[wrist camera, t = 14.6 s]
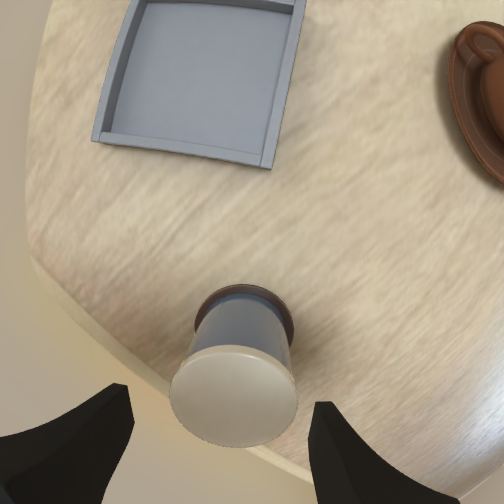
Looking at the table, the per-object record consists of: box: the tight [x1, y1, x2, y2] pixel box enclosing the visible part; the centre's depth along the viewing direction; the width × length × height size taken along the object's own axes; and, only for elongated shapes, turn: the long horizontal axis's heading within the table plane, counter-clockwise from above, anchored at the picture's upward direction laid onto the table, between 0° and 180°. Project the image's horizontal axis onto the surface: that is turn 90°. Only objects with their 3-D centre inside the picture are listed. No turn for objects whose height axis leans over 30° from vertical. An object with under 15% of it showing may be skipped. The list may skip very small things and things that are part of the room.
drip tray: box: [91, 0, 307, 170], centre depth 15 cm, size 10×10×2 cm
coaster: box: [195, 284, 294, 349], centre depth 19 cm, size 6×6×1 cm
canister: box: [170, 293, 298, 448], centre depth 16 cm, size 5×5×7 cm
